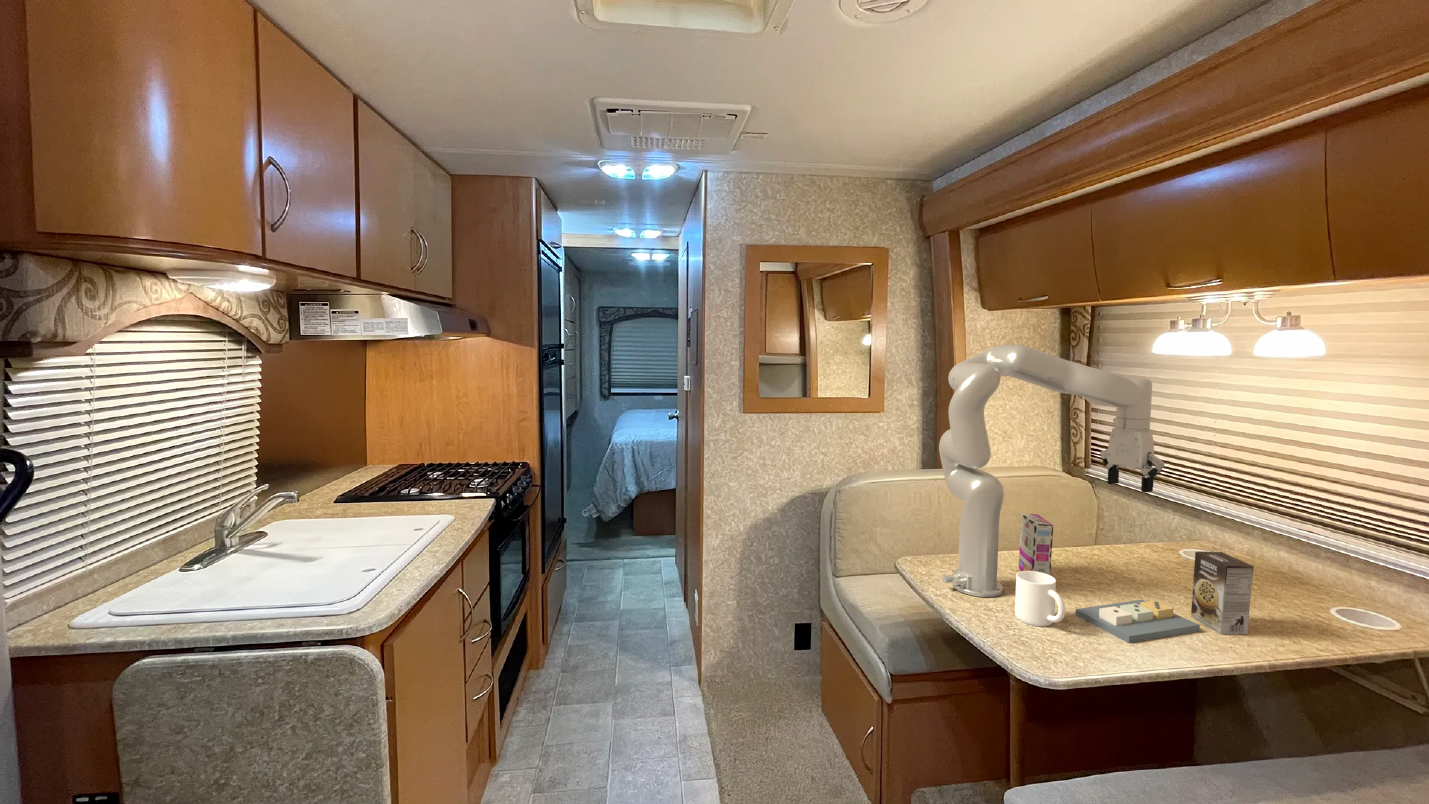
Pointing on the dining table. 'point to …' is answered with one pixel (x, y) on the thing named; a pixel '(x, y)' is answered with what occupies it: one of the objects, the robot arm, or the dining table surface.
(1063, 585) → the dining table surface
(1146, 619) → the tile
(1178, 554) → the dining table surface
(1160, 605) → the tile
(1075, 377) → the robot arm
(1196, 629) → the board
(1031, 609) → the mug
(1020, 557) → the candy bar box
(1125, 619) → the tile
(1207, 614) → the coffee box
